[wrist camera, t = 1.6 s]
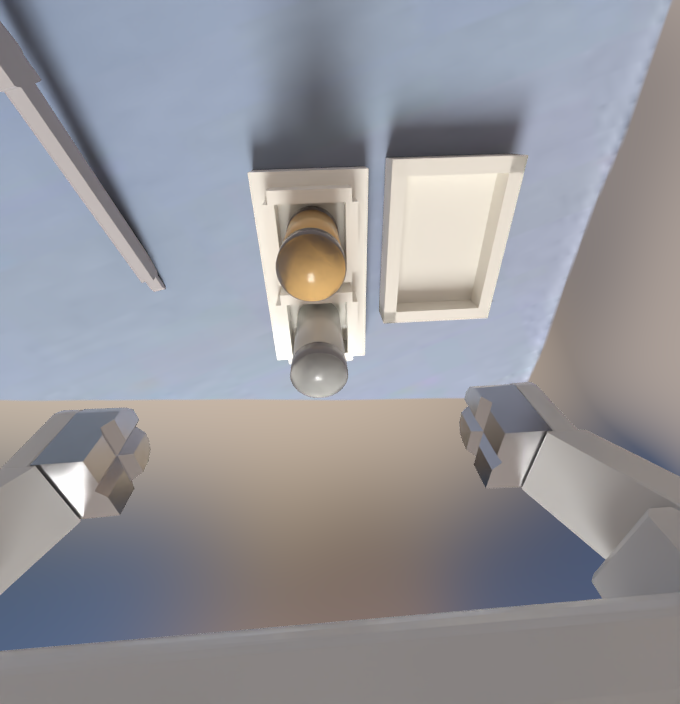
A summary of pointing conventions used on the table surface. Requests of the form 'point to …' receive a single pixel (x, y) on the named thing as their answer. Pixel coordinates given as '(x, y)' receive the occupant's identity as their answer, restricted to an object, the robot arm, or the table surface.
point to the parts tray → (445, 234)
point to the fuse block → (340, 309)
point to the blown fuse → (311, 256)
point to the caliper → (69, 156)
